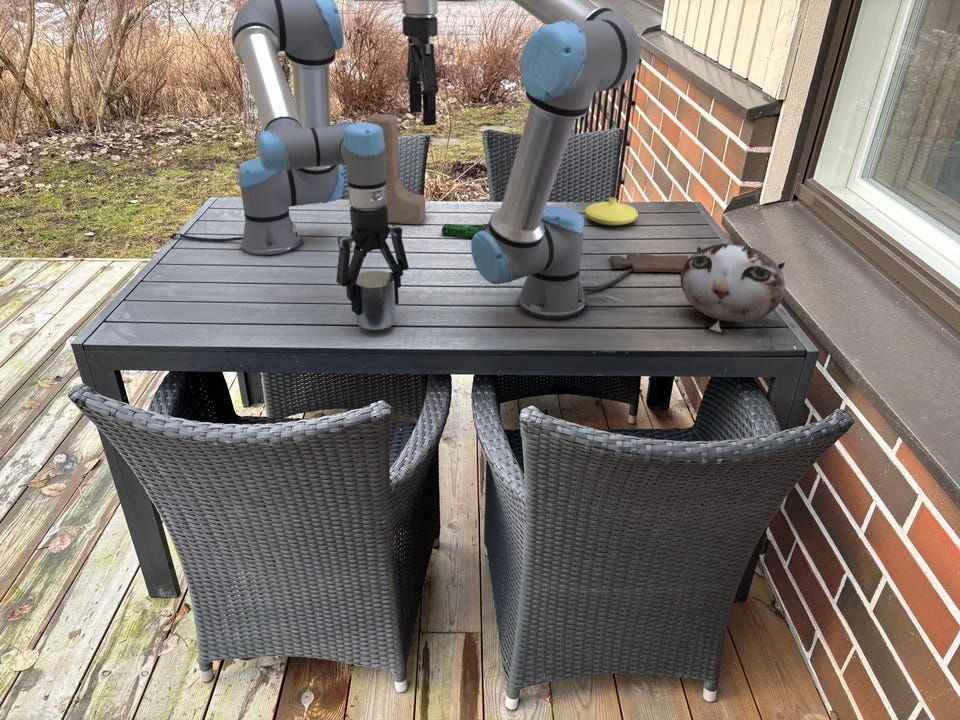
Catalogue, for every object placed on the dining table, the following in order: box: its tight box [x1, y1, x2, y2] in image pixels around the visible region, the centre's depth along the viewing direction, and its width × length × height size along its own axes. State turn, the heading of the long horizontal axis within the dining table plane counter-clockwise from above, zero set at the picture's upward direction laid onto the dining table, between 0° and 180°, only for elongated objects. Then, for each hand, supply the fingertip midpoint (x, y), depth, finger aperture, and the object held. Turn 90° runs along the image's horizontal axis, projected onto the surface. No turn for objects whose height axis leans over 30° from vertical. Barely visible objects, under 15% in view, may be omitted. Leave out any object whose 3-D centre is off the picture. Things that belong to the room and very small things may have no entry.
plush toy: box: [680, 243, 786, 333], centre depth 158 cm, size 22×18×20 cm
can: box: [355, 270, 397, 331], centre depth 153 cm, size 8×8×10 cm
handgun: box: [441, 223, 488, 239], centre depth 207 cm, size 16×3×15 cm
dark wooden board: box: [609, 253, 690, 274], centre depth 188 cm, size 26×2×10 cm
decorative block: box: [365, 113, 426, 226], centre depth 208 cm, size 8×15×30 cm, turn 82°
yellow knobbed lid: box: [584, 197, 639, 227], centre depth 215 cm, size 16×16×7 cm
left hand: (375, 307), depth 154 cm, fingers closed on can, 8 cm apart
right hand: (422, 118), depth 163 cm, fingers open, 13 cm apart
